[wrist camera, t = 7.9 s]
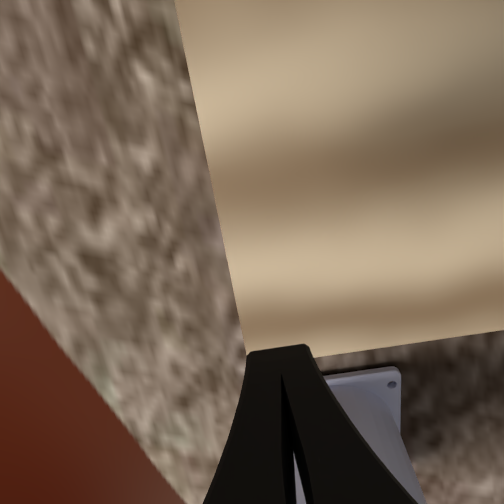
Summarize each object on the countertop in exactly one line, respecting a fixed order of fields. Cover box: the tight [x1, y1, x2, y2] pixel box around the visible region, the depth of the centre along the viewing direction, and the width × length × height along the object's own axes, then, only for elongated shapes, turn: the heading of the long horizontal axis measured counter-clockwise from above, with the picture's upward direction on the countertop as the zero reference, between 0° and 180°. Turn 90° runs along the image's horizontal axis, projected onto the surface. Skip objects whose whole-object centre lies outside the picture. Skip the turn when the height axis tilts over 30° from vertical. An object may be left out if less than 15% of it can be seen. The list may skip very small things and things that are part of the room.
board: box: [174, 0, 504, 358], centre depth 18 cm, size 16×13×3 cm
